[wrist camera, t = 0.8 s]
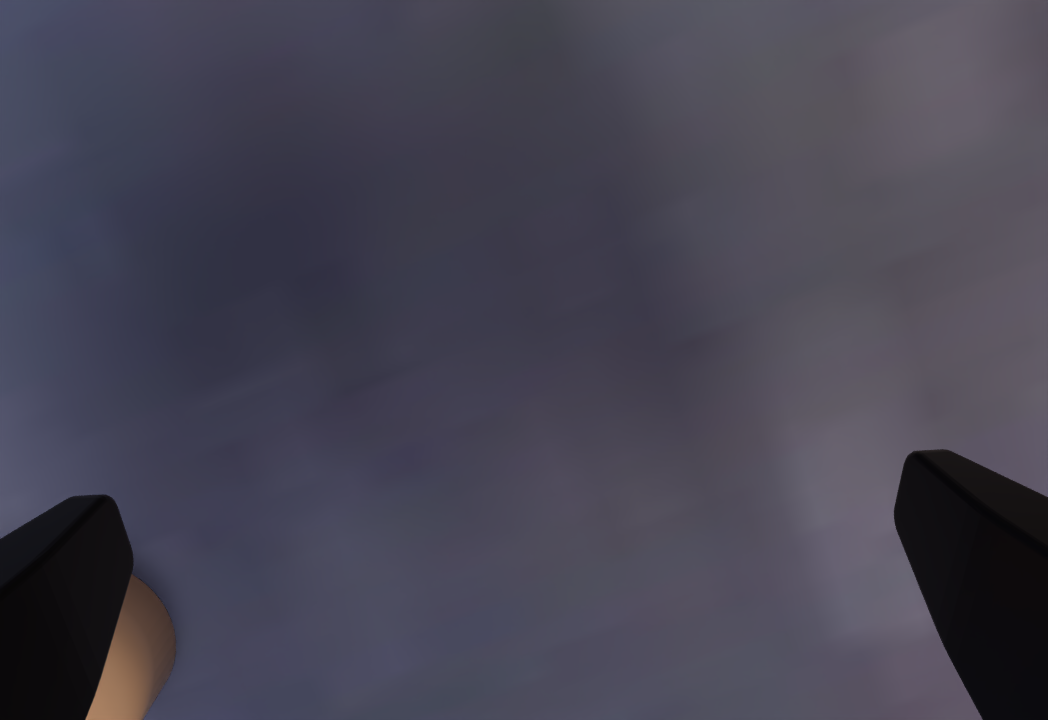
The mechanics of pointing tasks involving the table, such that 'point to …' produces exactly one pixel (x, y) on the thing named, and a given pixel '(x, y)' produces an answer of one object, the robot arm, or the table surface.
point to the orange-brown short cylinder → (136, 657)
